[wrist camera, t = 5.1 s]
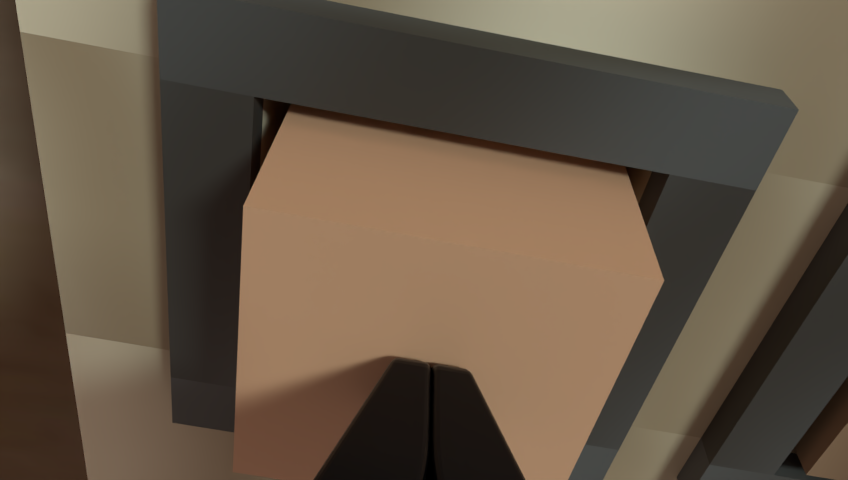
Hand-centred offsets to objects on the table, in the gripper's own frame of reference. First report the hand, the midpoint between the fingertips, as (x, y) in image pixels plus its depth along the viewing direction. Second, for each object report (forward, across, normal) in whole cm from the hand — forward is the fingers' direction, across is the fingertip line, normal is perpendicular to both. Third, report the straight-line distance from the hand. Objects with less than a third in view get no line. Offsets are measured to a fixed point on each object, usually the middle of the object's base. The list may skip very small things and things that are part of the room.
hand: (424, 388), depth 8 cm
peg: (+6, 0, 0) cm, 6 cm away
